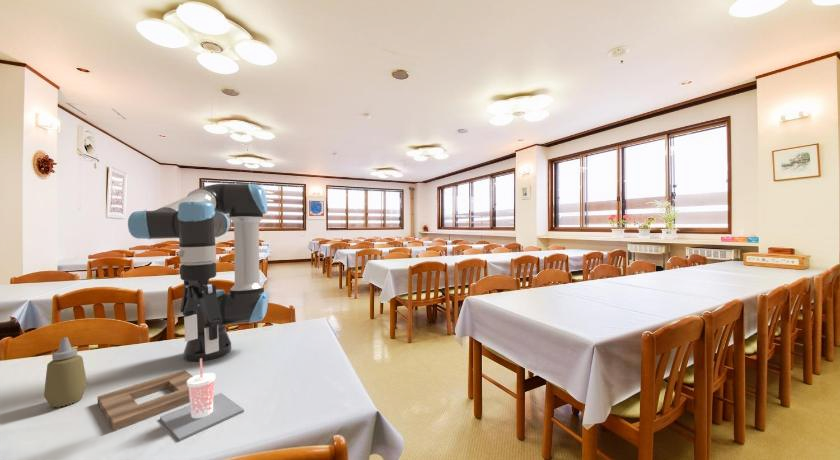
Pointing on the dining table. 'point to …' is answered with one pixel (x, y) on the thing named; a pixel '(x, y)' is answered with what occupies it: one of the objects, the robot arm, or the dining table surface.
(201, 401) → the beverage cup
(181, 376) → the pocket holder
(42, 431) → the dining table surface
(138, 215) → the robot arm
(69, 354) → the squeeze bottle
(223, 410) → the rubber mat
